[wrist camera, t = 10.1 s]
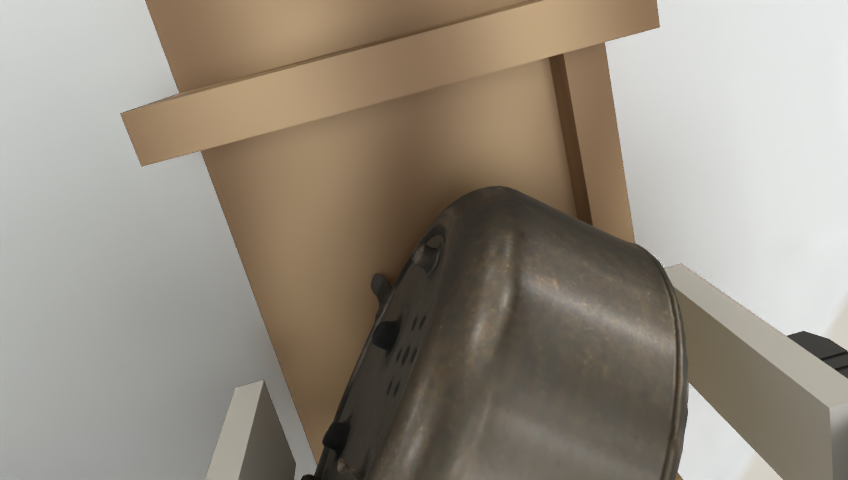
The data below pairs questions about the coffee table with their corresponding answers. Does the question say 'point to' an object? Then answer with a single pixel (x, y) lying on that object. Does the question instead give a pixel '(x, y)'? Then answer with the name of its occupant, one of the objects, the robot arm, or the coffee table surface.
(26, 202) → the coffee table surface
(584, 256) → the alarm clock
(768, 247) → the coffee table surface
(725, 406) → the robot arm
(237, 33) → the wooden rack
